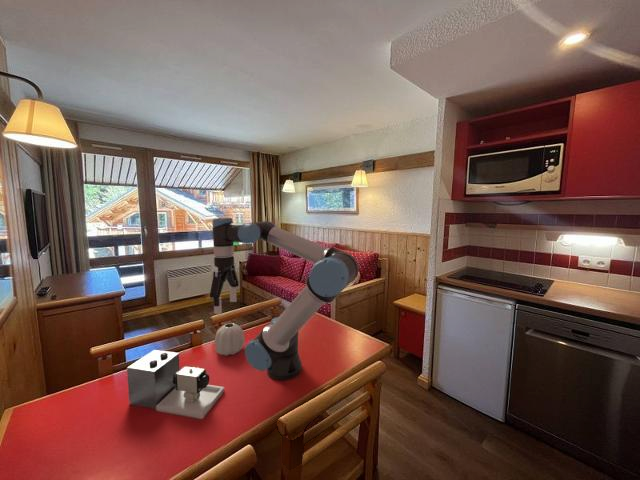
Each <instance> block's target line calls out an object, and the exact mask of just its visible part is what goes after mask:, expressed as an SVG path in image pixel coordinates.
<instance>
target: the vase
mask: <svg viewBox="0 0 640 480" xmlns="http://www.w3.org/2000/svg"><path fill="white" fill-rule="evenodd" d="M244 344H245V335H244V330H243V329H242V327H241V326H240V325H238V324H236V323H234V322H229V323H225V324H223V325H221V326H220V327H219V328H218V329H217V331H216V333H215V338H214V349H215V352H217V353H218V354H219V355H221V356H225V357H228V356H229V355H231V356H234V355H235V354H238V353H240V352H241V350H242V349H243V348H244Z"/></svg>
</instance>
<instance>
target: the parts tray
mask: <svg viewBox="0 0 640 480" xmlns="http://www.w3.org/2000/svg"><path fill="white" fill-rule="evenodd" d="M184 392H185V391H180V390H176V388H175V389H174V390H173V391H172V392H171V393H169V394H168V395H167V396H166V397H165V398H164V399H163V400H162V401H161V402H160V403H159V404H158V405H156V409H155V411H156V412H159V413H160V412H161V413H166V414H171V415H176V416H182V417H186V418H194V419H200V420H203V419H204V418H205V417H206V415H207V414H208V413H209V412H210V410H211V409H212V408H213V406H215V404H216V403H218V402H217V401H218V400H219V399H220V398H221V396H222V395H223V394H224V393H225V386H221V385H212V384H208V385H207V387H206V388H204V389H202V390H201V391H200V397H199V399H198V400H195V402H194V403H191V402H185V401H184V399H185V398H184V396H183V395H184Z"/></svg>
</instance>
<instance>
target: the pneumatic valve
mask: <svg viewBox="0 0 640 480" xmlns="http://www.w3.org/2000/svg"><path fill="white" fill-rule="evenodd" d="M209 383H210V375H209V374H208V372H207V369H206V368H200V367H199V366H197V367H196V366H193V367H191V366H183V367H181V369H180V370H179V371H177V372H176V373H175V375H174V377H173V384H176V390H180V391H185V392H184V395H183V396H184V398H185V399H184V401H185V402H191V403H194V402H195V400H198V399H199V397H200V391H201V390H202V389H204V388H206V387H207V385H209Z"/></svg>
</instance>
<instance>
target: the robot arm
mask: <svg viewBox="0 0 640 480" xmlns="http://www.w3.org/2000/svg"><path fill="white" fill-rule="evenodd" d="M211 229H212V239H213V249H212V250H213V262H214V267H216V268H217V270H216V271H215V270H214V271H213V273H212V277H213V278H212V283H211V286H210V291H209V298H211V299H213V313H214V314H215V315H222V314H223V309H222V296H221V295H222V291H223V287H224V283H225V282H226V281H227V282H228V284H229V285H230V286H229V302H230V303H237V301H238V300H237V299H238V298H237V297H238V296H237V287H239V278H238V275H237V272H236V266H235V257H234V255H235V249H234V243H244V244H255V243H257V242H258V241H263V242H266V243H269V244H270V245H273V246H274V247H277V248H280V249H282V250H284V251H286V252H289V253H291V254H293V255H295V256H297V257H299V258H302V259H303V260H306V261H308V262H311V263H313V264H314V265H313V266H312V268H311V269H310V271H309V275H308V276H307V277H306V279H305V286H304V287H303V288H302V290H301V291H300V292H299V293H298V295H297V296H296V297H295V298H294V299H293V300H292V301H291V303H289V305H288V306H287V307H286V308H285V309H284V310H283V312H282V313H281V314H280V315H279V316H278V317H274V318H272V319H271V320H270V324H267V325H266V326H264V327H263V328H262V330H261V331H260V332H259V333H258V335H257V336H256V337H255V338H253V339H251V340H249V342H248V343H247V344H246V345H245V348H244V353H245V358H246V361H247V362H248V363H249V365H250V366H251V367H252V368H253V369H254V370H257V371H259V372H264V371H266V374H267V375H268V376H269V377H270V378H271V379H273V380H276V381H289V380H292V379H295V378H297V377H298V376H299V375H301V373H302V368H303V363H302V361H301V357H300V354H299V330H301V329H302V327H304V325H305V324H306V323H307V322H308V321H309V320H310V319H311V318H312V317H313V316H314V315H315V314H316V313H317V312H318V310H319V309H320V308H321V307H322V306H324V305H325V304H330V303H332V302H334V300H335V299H336V298H337V297H338V296H339V295H340V294H342V291H344V290H345V289H346V288H347V287H348V286H349V285H351V284H352V283H353V282H354V281H355V280H356V278H357V277H358V275H359V264H358V261H357V260H356V258H355V257H354V256H352V254H350V253H348V252H345V251H343V250H342V249H340V248H339V249H338V248H336V247H333V246H330V247H326V246H323V245H321V244H319V243H317V242H314V241H311V240H309V239H307V238H305V237H303V236H300V235H297V234H294V233H292V232H290V231H288V230H285V229H283V228H280V227H278V226H276V224H275V223H274V222H272V221H256V222H233V218H232V217H214V218H213V219H212V228H211Z"/></svg>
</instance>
